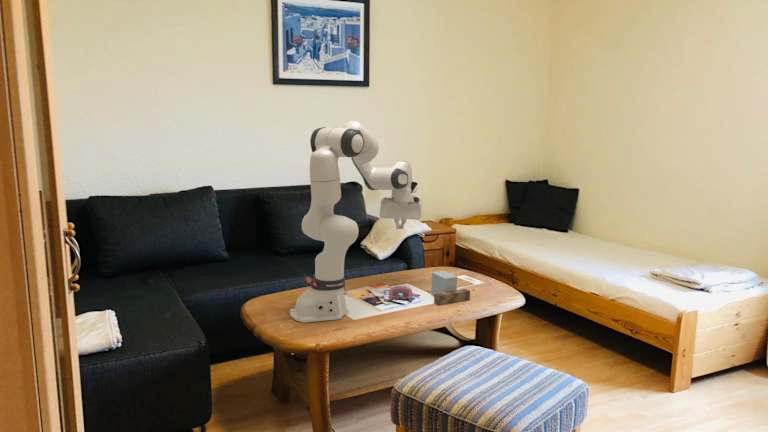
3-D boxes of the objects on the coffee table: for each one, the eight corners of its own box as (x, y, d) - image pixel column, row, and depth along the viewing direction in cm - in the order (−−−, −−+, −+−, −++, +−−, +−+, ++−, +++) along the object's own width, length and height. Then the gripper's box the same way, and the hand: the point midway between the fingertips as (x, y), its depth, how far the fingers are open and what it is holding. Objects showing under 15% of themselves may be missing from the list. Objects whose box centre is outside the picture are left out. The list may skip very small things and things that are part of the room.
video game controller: (412, 303, 241) (412, 286, 242) (411, 301, 236) (412, 285, 238) (388, 302, 241) (389, 285, 243) (388, 300, 237) (389, 284, 239)
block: (444, 301, 239) (445, 278, 237) (431, 294, 247) (432, 272, 246) (456, 299, 242) (457, 276, 240) (442, 292, 250) (443, 270, 248)
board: (438, 305, 234) (438, 296, 233) (434, 303, 236) (434, 293, 236) (469, 299, 241) (470, 290, 241) (465, 297, 244) (465, 288, 243)
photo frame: (485, 282, 264) (456, 288, 254) (485, 284, 265) (456, 290, 255) (463, 274, 276) (435, 280, 266) (463, 276, 276) (435, 282, 266)
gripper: (385, 197, 246) (383, 229, 246) (423, 199, 257) (422, 229, 257) (377, 197, 251) (376, 228, 252) (415, 198, 262) (414, 228, 262)
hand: (399, 229), depth 254 cm, fingers closed
